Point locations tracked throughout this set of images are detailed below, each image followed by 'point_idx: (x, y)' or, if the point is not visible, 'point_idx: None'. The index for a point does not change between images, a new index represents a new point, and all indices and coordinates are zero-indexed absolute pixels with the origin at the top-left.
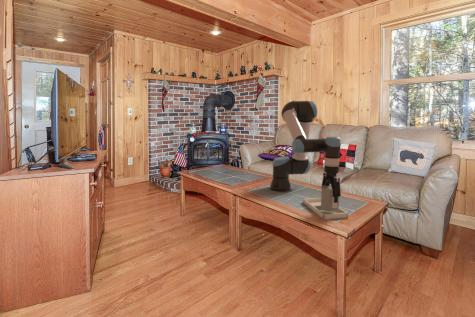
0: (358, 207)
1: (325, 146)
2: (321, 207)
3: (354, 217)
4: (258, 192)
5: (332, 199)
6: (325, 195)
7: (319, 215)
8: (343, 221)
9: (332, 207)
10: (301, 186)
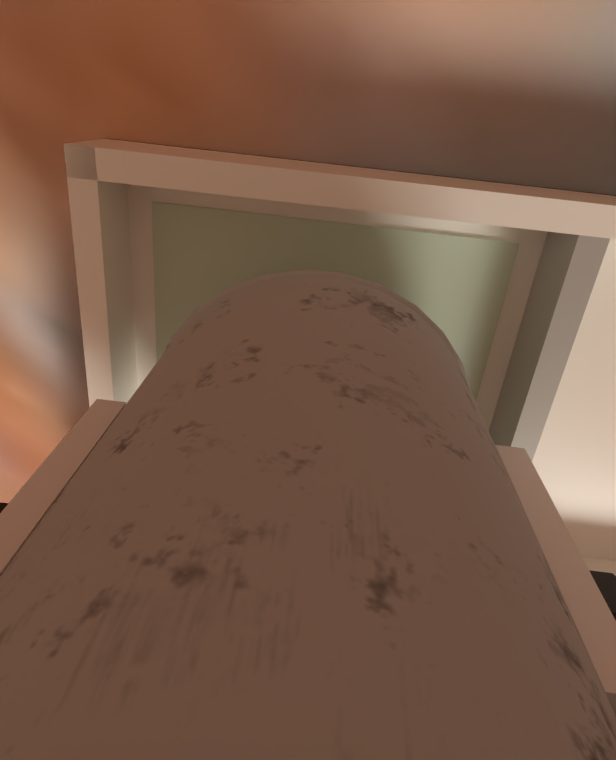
0: None
1: None
2: (343, 284)
3: None
4: None
5: (13, 533)
6: (119, 482)
7: (257, 157)
8: (8, 389)
9: (91, 408)
10: None
